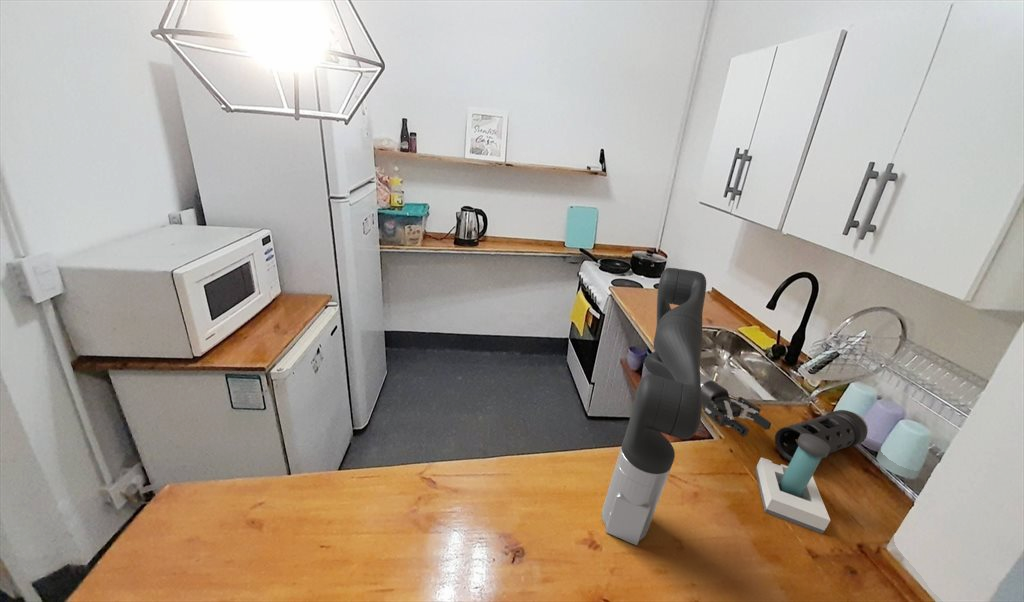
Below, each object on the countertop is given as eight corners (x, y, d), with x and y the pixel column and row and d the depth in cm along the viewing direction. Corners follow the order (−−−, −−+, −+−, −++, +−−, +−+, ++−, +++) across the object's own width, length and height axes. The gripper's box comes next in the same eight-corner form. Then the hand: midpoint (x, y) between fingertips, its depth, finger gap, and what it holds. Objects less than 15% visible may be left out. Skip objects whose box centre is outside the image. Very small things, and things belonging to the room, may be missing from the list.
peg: (804, 509, 89) (834, 455, 83) (775, 499, 91) (803, 445, 85) (798, 491, 94) (825, 439, 88) (771, 482, 96) (797, 430, 90)
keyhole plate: (822, 534, 85) (830, 520, 83) (764, 512, 88) (771, 498, 87) (805, 487, 97) (812, 474, 96) (755, 469, 100) (760, 457, 99)
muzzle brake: (766, 449, 109) (781, 418, 105) (825, 430, 121) (840, 401, 117) (802, 475, 101) (819, 443, 97) (860, 452, 113) (878, 423, 109)
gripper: (690, 383, 107) (744, 422, 93) (726, 376, 113) (782, 412, 99) (682, 406, 109) (733, 447, 96) (717, 398, 116) (770, 436, 102)
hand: (758, 429), depth 98 cm, fingers open, 8 cm apart
